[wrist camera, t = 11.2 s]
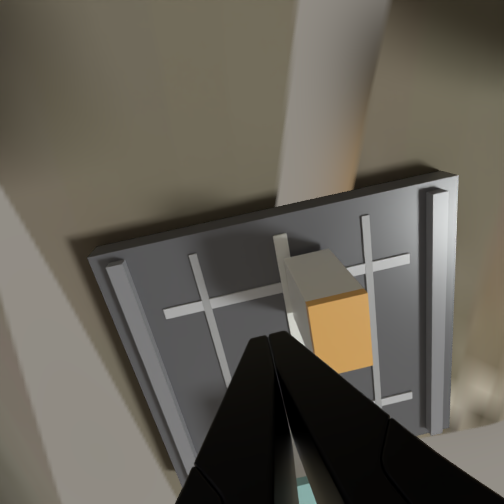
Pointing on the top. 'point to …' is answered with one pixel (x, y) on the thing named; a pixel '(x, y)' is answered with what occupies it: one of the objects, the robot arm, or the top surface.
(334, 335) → the grey rectangular block
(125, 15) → the top surface
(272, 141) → the top surface
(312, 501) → the fader teal
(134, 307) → the console
